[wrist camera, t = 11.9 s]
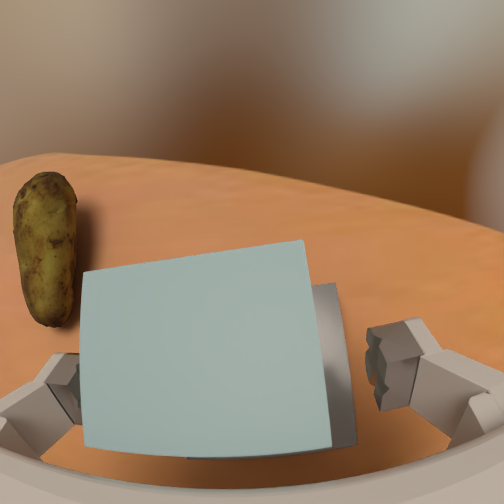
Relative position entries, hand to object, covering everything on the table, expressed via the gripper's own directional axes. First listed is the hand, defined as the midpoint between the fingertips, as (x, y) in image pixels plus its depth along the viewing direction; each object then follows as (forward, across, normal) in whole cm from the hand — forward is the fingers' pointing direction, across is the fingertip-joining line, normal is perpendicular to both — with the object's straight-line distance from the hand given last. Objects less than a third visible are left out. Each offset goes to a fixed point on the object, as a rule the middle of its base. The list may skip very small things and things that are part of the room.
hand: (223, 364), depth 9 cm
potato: (+18, -18, -2) cm, 25 cm away
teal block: (+7, 0, -7) cm, 10 cm away
